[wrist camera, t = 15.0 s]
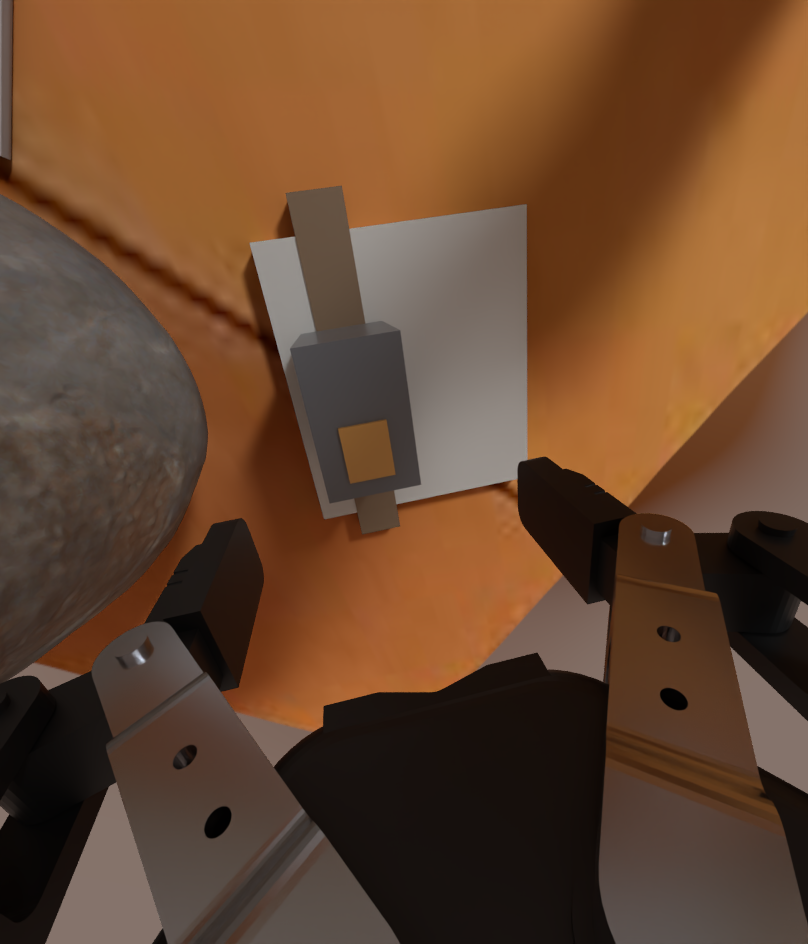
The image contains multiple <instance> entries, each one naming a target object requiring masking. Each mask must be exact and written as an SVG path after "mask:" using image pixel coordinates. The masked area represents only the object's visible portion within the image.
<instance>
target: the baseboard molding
mask: <svg viewBox="0 0 808 944" xmlns="http://www.w3.org/2000/svg"><path fill="white" fill-rule="evenodd" d="M12 30H13V0H0V156H1V157H4V158H6V159H9V160H11V129H12Z"/></svg>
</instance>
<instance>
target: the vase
mask: <svg viewBox="0 0 808 944" xmlns="http://www.w3.org/2000/svg"><path fill="white" fill-rule="evenodd" d="M207 442H208V429H207V421H206V415H205V411H204V407H203V403H202V399H201V396H200V393H199V390H198V387H197V384H196V382H195V380H194V377H193V375H192V373H191V371H190V369H189V367H188V365H187V363H186V361H185V359H184V358H183V356H182V354H181V352H180V351H179V349H178V347H177V346H176V344H175V343H174V341H173V339H172V338H171V337H170V335H169V334H168V332H167V331H166V330H165V329H164V328H163V326H162V325H161V324H160V323H159V322H158V321H157V319H156V318H155V317H154V316H153V314H152V313H151V312H150V311H149V310H148V309H147V307H146V306H145V305H144V304H143V303H142V302H141V301H140V300H139V298H138V297H137V296H136V295H135V294H134V293H133V292H132V291H131V290H130V289H129V288H128V286H127V285H126V284H125V283H124V282H123V281H122V280H121V279H120V278H119V277H118V276H117V275H116V274H114V273H113V272H112V271H111V270H110V269H109V268H108V267H107V266H106V265H105V264H104V263H102V262H101V261H100V260H99V259H97V258H96V257H95V256H93V255H92V254H91V253H90V252H88V251H87V250H86V249H84V248H83V247H82V246H81V245H79V244H78V243H77V242H75V241H74V240H72V239H71V238H70V237H68V236H67V235H65V234H64V233H63V232H61V231H60V230H58V229H57V228H55V227H54V226H52V225H51V224H49V223H48V222H46V221H45V220H43V219H42V218H40V217H39V216H37V215H35V214H34V213H32V212H31V211H29V210H27V209H26V208H24V207H22V206H21V205H19V204H17V203H16V202H14V201H12V200H10V199H8V198H6V197H5V196H3V195H1V194H0V684H1V683H3V682H5V681H7V680H9V679H10V678H12V677H13V676H15V675H16V674H18V673H19V672H21V671H22V670H24V669H25V668H27V667H28V666H29V665H31V664H32V663H33V662H35V661H36V660H38V659H39V658H40V657H42V656H43V655H44V654H46V653H47V652H48V651H49V650H51V649H52V648H53V647H55V646H56V645H57V644H59V643H60V642H61V641H62V640H64V639H65V638H66V637H68V636H69V635H70V634H71V633H72V632H74V631H75V630H77V629H78V628H80V627H81V626H82V625H84V624H85V623H86V622H88V621H89V620H90V619H92V618H93V617H94V616H96V615H97V614H98V613H100V612H101V611H102V610H103V609H104V608H106V607H107V606H108V605H109V604H110V603H112V602H113V601H114V600H115V599H117V598H118V597H119V596H121V595H122V594H123V593H124V592H125V591H127V590H128V589H129V588H130V587H131V586H132V585H133V584H134V583H135V582H136V581H137V580H138V579H139V578H140V577H141V576H142V575H143V574H144V573H145V572H146V571H147V569H148V568H149V567H150V566H151V565H152V563H153V562H154V561H155V560H156V558H157V557H158V556H159V554H160V553H161V552H162V550H163V549H164V548H165V547H166V546H167V545H168V543H169V542H170V540H171V539H172V538H173V536H174V534H175V532H176V531H177V529H178V526H179V524H180V523H181V521H182V519H183V517H184V514H185V512H186V510H187V508H188V505H189V503H190V500H191V497H192V494H193V491H194V489H195V487H196V485H197V482H198V479H199V476H200V473H201V470H202V467H203V465H204V462H205V459H206V452H207Z"/></svg>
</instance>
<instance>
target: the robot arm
mask: <svg viewBox="0 0 808 944" xmlns="http://www.w3.org/2000/svg"><path fill="white" fill-rule="evenodd" d="M517 476H518V511H519V516H520V519H521V522H522V524H523V526H524V527H525V529H526V530H527V531H528V532H529V534H530V535H531V536H532V537H533V538H534V540H535V541H536V542H537V543H538V545H539V546H540V547H541V548H542V549H543V551H544V552H545V553H546V554H547V556H548V557H549V558H550V559H551V560H552V562H553V563H554V564H555V565H556V567H557V568H558V569H559V570H560V572H561V573H562V574H563V575H564V576H565V578H566V579H567V580H568V581H569V583H570V584H571V585H572V586H573V587H574V589H575V590H576V591H577V592H578V594H579V595H580V596H581V597H582V598H583V600H584V601H585V602H586V603H587V604H591V603H595V602H599V601H603V600H606V601H607V602H608V603H609V605H610V609H609V618H608V630H607V643H606V655H605V666H604V678H603V682H602V681H599V680H597V679H594V678H591V677H588V676H585V675H582V674H578V673H573V672H568V671H561V670H547V669H546V667H545V665H544V663H543V661H542V660H541V658H540V656H539V655H538V653H534V654H530V655H526V656H522V657H518V658H514V659H510V660H506V661H502V662H498V663H494V664H490V665H486V666H485V667H483V668H481V669H479V670H477V671H475V672H473V673H472V674H470V675H468V676H466V677H464V678H462V679H461V680H459V681H457V682H455V683H453V684H451V685H449V686H448V687H446V688H444V689H442V690H440V691H437V692H378V693H374V694H370V695H366V696H362V697H358V698H354V699H350V700H346V701H342V702H338V703H334V704H330V705H326V706H324V713H323V727H321V728H319V729H317V730H316V731H314V732H313V733H311V734H310V735H308V736H307V737H305V738H304V739H302V740H301V741H300V742H299V743H297V744H296V745H295V746H294V747H293V748H291V749H290V750H289V751H288V753H286V754H285V755H284V756H283V757H282V758H281V759H280V760H279V761H278V762H277V764H276V765H275V766H274V767H273V766H272V764H271V763H270V761H269V760H268V759H267V757H266V756H265V754H264V753H263V752H262V750H261V749H260V747H259V746H258V744H257V743H256V741H255V740H254V739H253V737H252V736H251V734H250V733H249V732H248V730H247V729H246V727H245V726H244V725H243V723H242V722H241V720H240V719H239V718H238V716H237V715H236V713H235V712H234V710H233V709H232V707H231V706H230V705H229V703H228V702H227V700H226V699H225V698H224V696H223V695H222V693H221V692H222V691H226V690H230V689H234V688H238V687H239V683H240V679H241V675H242V671H243V667H244V663H245V658H246V654H247V650H248V646H249V642H250V638H251V634H252V629H253V625H254V621H255V617H256V613H257V609H258V604H259V600H260V596H261V592H262V588H263V583H264V574H263V567H262V563H261V561H260V558H259V555H258V553H257V550H256V547H255V545H254V542H253V539H252V537H251V534H250V532H249V529H248V526H247V524H246V522H245V521H244V520H243V519H242V518H240V519H235V520H230V521H225V522H220V523H215V524H213V525H212V526H211V528H210V530H209V532H208V534H207V536H206V537H205V539H204V541H203V543H202V544H200V545H196V546H195V547H194V548H193V549H192V550H190V551H189V552H188V553H187V554H186V555H185V556H184V557H183V558H182V559H181V560H180V562H179V564H178V566H177V567H176V569H175V571H174V575H172V576H171V578H170V580H169V581H168V583H167V587H165V588H164V590H163V592H162V594H161V595H160V597H159V599H158V601H157V602H156V604H155V606H154V608H153V609H152V611H151V613H150V615H149V616H148V618H147V620H146V622H145V623H144V624H143V625H140V626H137V627H135V628H133V629H131V630H129V631H127V632H125V633H124V634H122V635H121V636H119V637H118V638H116V639H115V640H114V641H112V642H111V643H110V644H109V645H108V646H107V647H106V648H105V649H104V650H103V651H102V652H101V653H100V654H99V656H98V657H97V658H96V660H95V662H94V664H93V666H92V671H90V672H88V673H86V674H84V675H81V676H79V677H77V678H75V679H72V680H70V681H68V682H66V683H64V684H61V685H60V686H57V687H55V688H52V689H50V690H47V689H46V688H45V686H44V685H43V684H42V683H41V682H40V680H39V679H38V678H36V677H34V676H22V677H17V678H14V679H11V680H8V681H5V682H3V683H1V684H0V806H1V807H2V808H3V809H4V810H5V811H6V812H8V813H9V816H8V817H7V819H6V821H5V823H4V824H3V826H2V828H1V830H0V944H45V943H46V941H47V938H48V936H49V933H50V931H51V928H52V926H53V923H54V921H55V918H56V916H57V913H58V911H59V908H60V906H61V903H62V901H63V898H64V896H65V894H66V891H67V888H68V886H69V884H70V881H71V879H72V876H73V874H74V871H75V869H76V866H77V864H78V861H79V859H80V856H81V854H82V852H83V849H84V847H85V844H86V842H87V839H88V836H89V834H90V832H91V829H92V827H93V824H94V822H95V819H96V817H97V814H98V812H99V810H100V807H101V805H102V802H103V800H104V797H105V795H106V792H107V790H108V787H109V786H110V785H112V784H114V783H116V782H117V785H118V788H119V791H120V795H121V798H122V801H123V804H124V807H125V810H126V813H127V817H128V820H129V823H130V826H131V829H132V832H133V836H134V839H135V842H136V845H137V848H138V851H139V855H140V858H141V861H142V864H143V867H144V870H145V873H146V876H147V880H148V883H149V886H150V889H151V892H152V895H153V899H154V902H155V905H156V908H157V911H158V914H159V918H160V921H161V923H162V927H163V929H162V930H161V931H160V933H159V934H158V936H157V937H156V939H155V940H154V942H153V943H152V944H808V794H807V793H805V792H804V791H802V790H800V789H798V788H796V787H794V786H793V785H791V784H789V783H787V782H785V781H784V780H782V779H780V778H778V777H776V776H775V775H773V774H771V773H769V772H767V771H765V770H764V769H762V768H760V767H758V766H757V763H756V759H755V754H754V750H753V745H752V741H751V737H750V733H749V728H748V723H747V719H746V715H745V710H744V706H743V701H742V697H741V692H740V688H739V683H738V679H737V675H736V670H735V666H734V662H733V657H732V653H731V648H733V650H735V651H736V652H737V653H738V654H739V655H740V656H741V657H742V658H743V659H744V660H745V661H746V662H747V663H748V664H749V665H750V666H751V667H752V668H753V669H754V670H755V671H756V672H757V673H758V674H760V675H761V676H762V677H763V678H764V679H765V680H766V681H767V682H768V683H769V684H770V685H771V686H772V687H773V688H774V689H775V690H776V691H777V692H778V693H779V694H780V695H781V696H782V697H783V698H784V699H785V700H786V701H787V702H788V703H790V704H791V705H792V706H793V707H794V708H795V709H796V710H797V711H798V712H799V713H800V714H801V715H802V716H803V717H804V718H805V719H806V720H807V721H808V627H807V626H805V625H804V624H802V623H801V622H800V621H798V620H797V619H796V618H795V614H796V612H797V609H798V607H799V604H800V602H801V601H802V602H804V603H806V604H807V605H808V523H806V522H804V521H802V520H799V519H797V518H794V517H791V516H787V515H783V514H779V513H773V512H766V511H750V512H744V513H740V514H738V515H736V516H735V517H734V518H733V520H732V524H731V528H730V532H729V533H693V531H692V530H691V529H690V528H689V527H688V526H687V525H685V524H684V523H682V522H680V521H678V520H676V519H674V518H671V517H668V516H664V515H659V514H651V513H640V514H637V513H635V512H634V511H632V510H631V509H629V508H628V507H627V506H626V505H624V504H623V503H621V502H620V501H619V500H617V499H616V498H615V497H613V496H612V495H610V494H609V493H608V492H606V493H605V490H603V489H602V488H601V487H599V486H598V485H595V483H594V482H592V481H591V480H590V479H588V478H587V477H586V476H584V475H583V474H580V473H577V472H574V471H571V470H569V469H562V468H560V467H559V466H558V465H557V464H555V463H554V462H553V461H551V460H550V459H549V458H547V457H540V458H535V459H530V460H525V461H521V462H519V464H518V469H517ZM730 647H731V648H730Z"/></svg>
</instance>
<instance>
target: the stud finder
mask: <svg viewBox="0 0 808 944" xmlns="http://www.w3.org/2000/svg"><path fill="white" fill-rule="evenodd" d="M290 351H291V355H292V359H293V363H294V367H295V371H296V375H297V379H298V382H299V386H300V390H301V394H302V398H303V402H304V406H305V410H306V414H307V417H308V421H309V425H310V429H311V433H312V437H313V441H314V445H315V449H316V452H317V456H318V460H319V464H320V468H321V472H322V476H323V480H324V484H325V487H326V491H327V495H328V499H329V503H335V502H340V501H345V500H350V499H354V498H359V497H364V496H369V495H374V494H379V493H384V492H388V491H393V490H398V489H403V488H408V487H413V486H418V485H421V479H420V472H419V465H418V457H417V450H416V442H415V435H414V428H413V420H412V413H411V406H410V398H409V391H408V383H407V376H406V369H405V361H404V354H403V347H402V339H401V332H400V330H399V329H397V328H395V327H393V326H391V325H389V324H387V323H385V322H383V321H378V322H372V323H366V324H359V325H353V326H347V327H341V328H335V329H329V330H323V331H317V332H311V333H304V334H300V336H299V337H298V338H297V340H296V341H295V342H294V344H293V345H292V346H291V348H290Z"/></svg>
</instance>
